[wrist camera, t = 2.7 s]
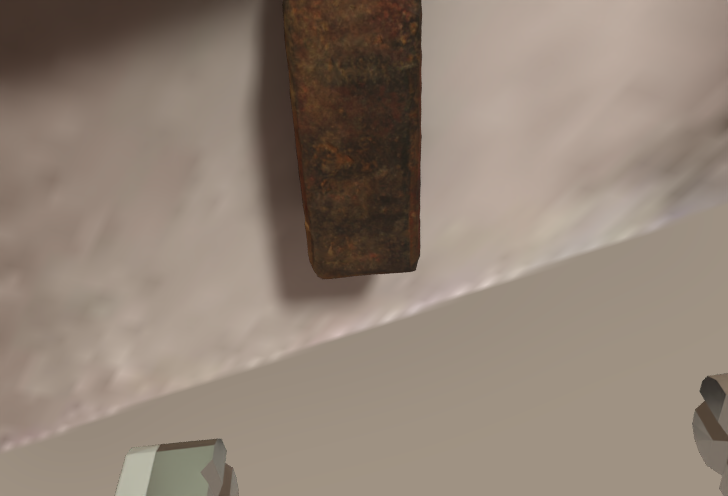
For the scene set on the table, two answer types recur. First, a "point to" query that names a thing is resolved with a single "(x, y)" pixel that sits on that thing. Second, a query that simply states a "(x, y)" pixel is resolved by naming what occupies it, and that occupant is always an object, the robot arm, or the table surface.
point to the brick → (357, 131)
